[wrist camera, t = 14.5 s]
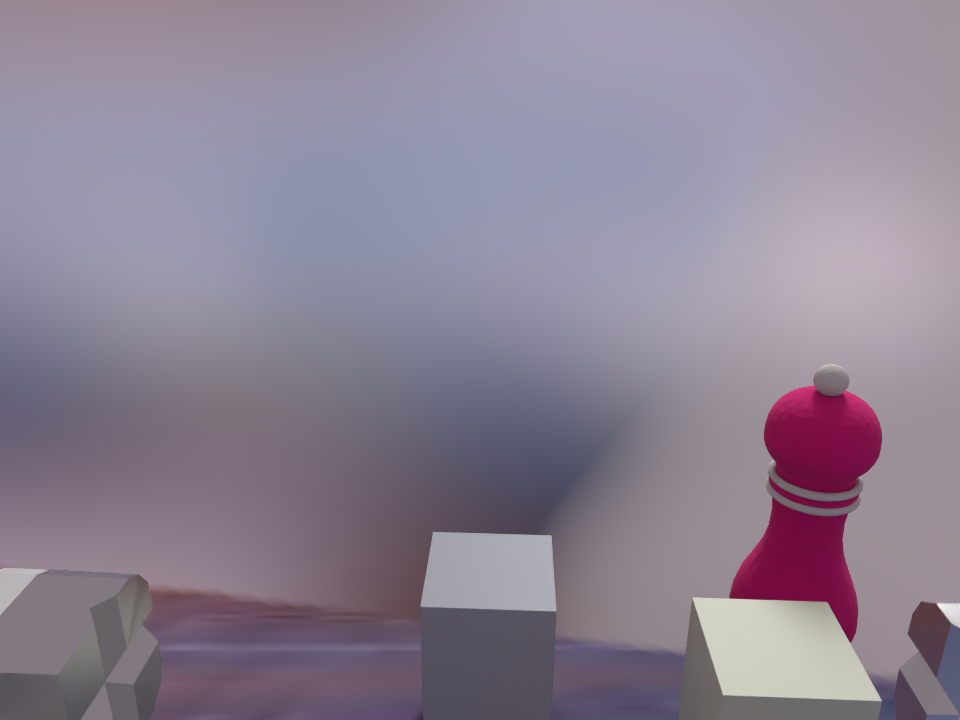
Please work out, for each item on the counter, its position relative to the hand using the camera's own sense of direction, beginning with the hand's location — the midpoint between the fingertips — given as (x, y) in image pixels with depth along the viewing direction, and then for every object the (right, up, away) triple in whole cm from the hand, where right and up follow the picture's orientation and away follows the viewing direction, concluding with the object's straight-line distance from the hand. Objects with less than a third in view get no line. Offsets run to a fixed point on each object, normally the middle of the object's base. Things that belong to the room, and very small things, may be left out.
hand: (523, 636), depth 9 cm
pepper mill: (+18, -16, +42) cm, 49 cm away
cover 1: (0, -18, +37) cm, 41 cm away
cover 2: (+13, -20, +32) cm, 40 cm away
